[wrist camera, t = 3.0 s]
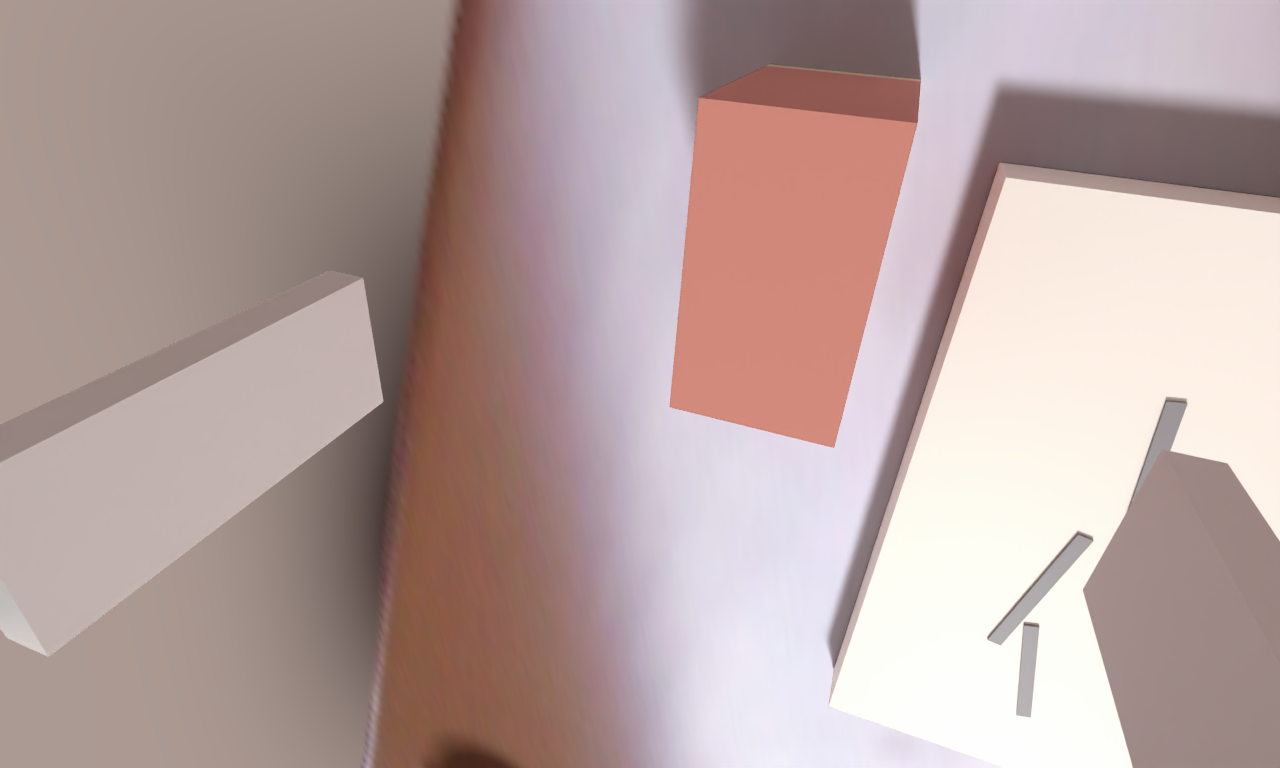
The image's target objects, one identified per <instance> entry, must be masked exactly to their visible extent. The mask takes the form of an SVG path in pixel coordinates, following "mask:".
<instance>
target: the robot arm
mask: <svg viewBox="0 0 1280 768" xmlns="http://www.w3.org/2000/svg"><path fill="white" fill-rule="evenodd" d="M382 402H383V397H382V390H381V385H380V379H379V372H378V366H377V360H376V354H375V348H374V342H373V336H372V330H371V323H370V317H369V312H368V306H367V299H366V293H365V287H364V281H363V278H361V277H356V276H351V275H347V274H342V273H337V272H333V271H328V272H326V273H323V274H321V275H319V276H317V277H315V278H313V279H311V280H309V281H307V282H304V283H302V284H300V285H298V286H296V287H294V288H291V289H289V290H287V291H285V292H283V293H281V294H279V295H276V296H274V297H272V298H270V299H268V300H266V301H264V302H262V303H259V304H257V305H255V306H253V307H251V308H249V309H247V310H245V311H242V312H240V313H238V314H236V315H234V316H232V317H230V318H227V319H225V320H223V321H221V322H219V323H217V324H214V325H212V326H210V327H208V328H206V329H204V330H202V331H200V332H198V333H195V334H193V335H191V336H189V337H187V338H185V339H183V340H180V341H178V342H176V343H174V344H172V345H169V346H167V347H165V348H163V349H161V350H159V351H157V352H155V353H152V354H150V355H148V356H146V357H144V358H142V359H140V360H138V361H135V362H133V363H131V364H129V365H127V366H125V367H122V368H120V369H118V370H116V371H114V372H112V373H110V374H107V375H105V376H103V377H101V378H99V379H97V380H95V381H93V382H90V383H88V384H86V385H84V386H82V387H80V388H78V389H75V390H73V391H71V392H69V393H67V394H65V395H63V396H61V397H58V398H56V399H54V400H52V401H50V402H48V403H45V404H43V405H41V406H39V407H37V408H35V409H33V410H30V411H29V412H26V413H24V414H22V415H20V416H18V417H16V418H13V419H11V420H9V421H7V422H5V423H3V424H1V425H0V628H1V630H2V631H3V633H4V634H5V636H6V637H7V638H8V639H11V640H13V641H15V642H17V643H19V644H22V645H24V646H26V647H28V648H30V649H33V650H35V651H37V652H39V653H41V654H44V655H46V656H48V657H49V656H50V655H51V654H53V653H54V652H55V651H57V650H58V649H59V648H61V647H62V646H63V645H64V644H66V643H67V642H68V641H70V640H71V639H72V638H74V637H75V636H76V635H78V634H79V633H80V632H82V631H83V630H84V629H86V628H87V627H88V626H90V625H91V624H92V623H93V622H95V621H96V620H97V619H99V618H100V617H101V616H103V615H104V614H105V613H107V612H108V611H109V610H110V609H112V608H113V607H114V606H116V605H117V604H118V603H120V602H121V601H122V600H124V599H125V598H126V597H128V596H129V595H130V594H131V593H133V592H134V591H135V590H137V589H138V588H139V587H141V586H142V585H143V584H145V583H146V582H147V581H149V580H150V579H151V578H152V577H154V576H155V575H156V574H158V573H159V572H160V571H162V570H163V569H164V568H166V567H167V566H168V565H170V564H171V563H172V562H173V561H175V560H176V559H177V558H179V557H180V556H181V555H182V554H184V553H185V552H187V551H188V550H189V549H191V548H192V547H193V546H194V545H195V544H197V543H198V542H200V541H201V540H202V539H203V538H205V537H206V536H207V535H209V534H210V533H212V532H213V531H214V530H215V529H217V528H218V527H219V526H221V525H222V524H223V523H225V522H226V521H227V520H229V519H230V518H231V517H233V516H234V515H235V514H237V513H238V512H239V511H241V510H242V509H243V508H244V507H246V506H247V505H248V504H249V503H251V502H252V501H254V500H255V499H256V498H257V497H259V496H260V495H262V494H263V493H264V492H265V491H267V490H268V489H269V488H271V487H272V486H273V485H275V484H276V483H277V482H278V481H280V480H281V479H282V478H284V477H285V476H287V475H288V474H289V473H290V472H292V471H293V470H294V469H296V468H297V467H298V466H299V465H301V464H302V463H304V462H305V461H306V460H308V459H309V458H310V457H311V456H313V455H314V454H315V453H316V452H318V451H319V450H321V449H322V448H323V447H324V446H326V445H327V444H329V443H330V442H331V441H332V440H334V439H335V438H336V437H338V436H339V435H340V434H342V433H343V432H344V431H345V430H347V429H348V428H350V427H351V426H352V425H353V424H355V423H356V422H357V421H359V420H360V419H361V418H363V417H364V416H365V415H366V414H368V413H369V412H371V411H372V410H373V409H374V408H375V407H377V406H378V405H380V404H381V403H382ZM1083 593H1084V596H1085V600H1086V603H1087V607H1088V611H1089V614H1090V618H1091V621H1092V625H1093V628H1094V632H1095V635H1096V639H1097V642H1098V646H1099V650H1100V653H1101V657H1102V660H1103V664H1104V667H1105V671H1106V674H1107V678H1108V681H1109V685H1110V688H1111V692H1112V696H1113V699H1114V703H1115V706H1116V710H1117V713H1118V717H1119V720H1120V724H1121V727H1122V731H1123V734H1124V738H1125V742H1126V745H1127V749H1128V752H1129V756H1130V759H1131V763H1132V766H1133V768H1280V541H1279V539H1278V538H1277V536H1276V535H1275V533H1274V532H1273V530H1272V529H1271V527H1270V526H1269V524H1268V523H1267V521H1266V520H1265V518H1264V517H1263V515H1262V514H1261V512H1260V511H1259V509H1258V508H1257V506H1256V505H1255V503H1254V502H1253V500H1252V499H1251V498H1250V496H1249V495H1248V493H1247V492H1246V490H1245V489H1244V487H1243V486H1242V484H1241V483H1240V481H1239V480H1238V478H1237V477H1236V475H1235V474H1234V472H1233V471H1232V469H1231V468H1230V466H1229V465H1228V463H1224V462H1219V461H1214V460H1210V459H1205V458H1200V457H1196V456H1191V455H1186V454H1182V453H1177V452H1172V451H1168V450H1163V449H1162V451H1161V453H1160V455H1159V456H1158V458H1157V460H1156V462H1155V463H1154V465H1153V467H1152V469H1151V470H1150V472H1149V474H1148V476H1147V477H1146V479H1145V481H1144V483H1143V484H1142V486H1141V488H1140V490H1139V492H1138V493H1137V495H1136V497H1135V499H1134V500H1133V502H1132V504H1131V506H1130V507H1129V509H1128V511H1127V513H1126V514H1125V516H1124V518H1123V520H1122V521H1121V523H1120V525H1119V527H1118V528H1117V530H1116V532H1115V534H1114V535H1113V537H1112V539H1111V541H1110V542H1109V544H1108V546H1107V548H1106V550H1105V551H1104V553H1103V555H1102V557H1101V558H1100V560H1099V562H1098V564H1097V565H1096V567H1095V569H1094V571H1093V572H1092V574H1091V576H1090V578H1089V579H1088V581H1087V583H1086V585H1085V586H1084V588H1083Z"/></svg>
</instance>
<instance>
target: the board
mask: <svg viewBox="0 0 1280 768" xmlns="http://www.w3.org/2000/svg"><path fill="white" fill-rule="evenodd" d="M1162 449H1163V450H1168V451H1172V452H1177V453H1182V454H1186V455H1191V456H1196V457H1200V458H1205V459H1210V460H1214V461H1219V462H1224V463H1228V465H1229V466H1230V468H1231V469H1232V471H1233V472H1234V474H1235V475H1236V477H1237V478H1238V480H1239V481H1240V483H1241V484H1242V486H1243V487H1244V489H1245V490H1246V492H1247V493H1248V495H1249V496H1250V498H1251V499H1252V500H1253V502H1254V503H1255V505H1256V506H1257V508H1258V509H1259V511H1260V512H1261V514H1262V515H1263V517H1264V518H1265V520H1266V521H1267V523H1268V524H1269V526H1270V527H1271V529H1272V530H1273V532H1274V533H1275V535H1276V536H1277V538H1278V539H1279V541H1280V198H1276V197H1269V196H1261V195H1253V194H1245V193H1237V192H1229V191H1221V190H1213V189H1206V188H1198V187H1190V186H1182V185H1174V184H1166V183H1158V182H1150V181H1143V180H1135V179H1127V178H1119V177H1111V176H1103V175H1095V174H1087V173H1080V172H1072V171H1064V170H1056V169H1048V168H1040V167H1032V166H1024V165H1017V164H1009V163H1001V162H999V165H998V168H997V171H996V175H995V178H994V181H993V184H992V187H991V190H990V193H989V196H988V199H987V202H986V205H985V208H984V211H983V214H982V217H981V220H980V224H979V227H978V230H977V233H976V236H975V239H974V242H973V245H972V248H971V251H970V254H969V257H968V260H967V263H966V266H965V269H964V273H963V276H962V279H961V282H960V285H959V288H958V291H957V294H956V297H955V300H954V303H953V306H952V309H951V312H950V315H949V318H948V322H947V325H946V328H945V331H944V334H943V337H942V340H941V343H940V346H939V349H938V352H937V355H936V358H935V361H934V364H933V367H932V371H931V374H930V377H929V380H928V383H927V386H926V389H925V392H924V395H923V398H922V401H921V404H920V407H919V410H918V413H917V416H916V420H915V423H914V426H913V429H912V432H911V435H910V438H909V441H908V444H907V447H906V450H905V453H904V456H903V459H902V462H901V465H900V468H899V472H898V475H897V478H896V481H895V484H894V487H893V490H892V493H891V496H890V499H889V502H888V505H887V508H886V511H885V514H884V517H883V521H882V524H881V527H880V530H879V533H878V536H877V539H876V542H875V545H874V548H873V551H872V554H871V557H870V560H869V563H868V566H867V570H866V573H865V576H864V579H863V582H862V585H861V588H860V591H859V594H858V597H857V600H856V603H855V606H854V609H853V612H852V615H851V619H850V622H849V625H848V628H847V631H846V634H845V637H844V640H843V643H842V646H841V649H840V652H839V655H838V658H837V661H836V664H835V668H834V671H833V678H832V685H831V693H830V700H829V707H832V708H835V709H838V710H841V711H844V712H847V713H850V714H852V715H855V716H858V717H861V718H864V719H867V720H870V721H873V722H875V723H878V724H881V725H884V726H887V727H890V728H893V729H895V730H898V731H901V732H904V733H907V734H910V735H913V736H916V737H918V738H921V739H924V740H927V741H930V742H933V743H936V744H938V745H941V746H944V747H947V748H950V749H953V750H956V751H959V752H961V753H964V754H967V755H970V756H973V757H976V758H979V759H981V760H984V761H987V762H990V763H993V764H996V765H999V766H1002V767H1004V768H1133V766H1132V763H1131V759H1130V756H1129V752H1128V749H1127V745H1126V742H1125V738H1124V734H1123V731H1122V727H1121V724H1120V720H1119V717H1118V713H1117V710H1116V706H1115V703H1114V699H1113V696H1112V692H1111V688H1110V685H1109V681H1108V678H1107V674H1106V671H1105V667H1104V664H1103V660H1102V657H1101V653H1100V650H1099V646H1098V642H1097V639H1096V635H1095V632H1094V628H1093V625H1092V621H1091V618H1090V614H1089V611H1088V607H1087V603H1086V600H1085V596H1084V593H1083V588H1084V586H1085V585H1086V583H1087V581H1088V579H1089V578H1090V576H1091V574H1092V572H1093V571H1094V569H1095V567H1096V565H1097V564H1098V562H1099V560H1100V558H1101V557H1102V555H1103V553H1104V551H1105V550H1106V548H1107V546H1108V544H1109V542H1110V541H1111V539H1112V537H1113V535H1114V534H1115V532H1116V530H1117V528H1118V527H1119V525H1120V523H1121V521H1122V520H1123V518H1124V516H1125V514H1126V513H1127V511H1128V509H1129V507H1130V506H1131V504H1132V502H1133V500H1134V499H1135V497H1136V495H1137V493H1138V492H1139V490H1140V488H1141V486H1142V484H1143V483H1144V481H1145V479H1146V477H1147V476H1148V474H1149V472H1150V470H1151V469H1152V467H1153V465H1154V463H1155V462H1156V460H1157V458H1158V456H1159V455H1160V453H1161V451H1162Z"/></svg>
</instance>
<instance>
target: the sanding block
mask: <svg viewBox="0 0 1280 768" xmlns="http://www.w3.org/2000/svg"><path fill="white" fill-rule="evenodd" d="M920 84H921V79H912V78H902V77H892V76H882V75H872V74H862V73H852V72H842V71H832V70H822V69H812V68H802V67H792V66H781V65H771V64H769V65H767V66H765V67H762V68H760V69H758V70H756V71H754V72H752V73H750V74H748V75H746V76H744V77H741V78H739V79H737V80H735V81H733V82H731V83H729V84H727V85H725V86H723V87H720V88H718V89H716V90H714V91H712V92H710V93H708V94H706V95H704V96H701V97H699V100H698V110H697V121H696V132H695V142H694V153H693V164H692V174H691V185H690V196H689V206H688V217H687V227H686V238H685V249H684V259H683V270H682V281H681V291H680V302H679V313H678V323H677V334H676V345H675V355H674V366H673V377H672V387H671V398H670V407H671V408H675V409H679V410H683V411H687V412H692V413H696V414H700V415H704V416H708V417H712V418H716V419H720V420H724V421H728V422H732V423H736V424H740V425H744V426H748V427H752V428H756V429H760V430H764V431H768V432H772V433H776V434H780V435H784V436H788V437H792V438H797V439H801V440H805V441H809V442H813V443H817V444H821V445H825V446H829V447H833V448H834V446H835V442H836V438H837V434H838V430H839V426H840V423H841V419H842V415H843V411H844V407H845V403H846V399H847V395H848V391H849V388H850V384H851V380H852V376H853V372H854V368H855V364H856V360H857V356H858V353H859V349H860V345H861V341H862V337H863V333H864V329H865V325H866V321H867V317H868V314H869V310H870V306H871V302H872V298H873V294H874V290H875V286H876V282H877V279H878V275H879V271H880V267H881V263H882V259H883V255H884V251H885V247H886V244H887V240H888V236H889V232H890V228H891V224H892V220H893V216H894V212H895V208H896V205H897V201H898V197H899V193H900V189H901V185H902V181H903V177H904V173H905V170H906V166H907V162H908V158H909V154H910V150H911V146H912V142H913V138H914V134H915V131H916V127H917V122H918V109H919V97H920Z"/></svg>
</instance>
